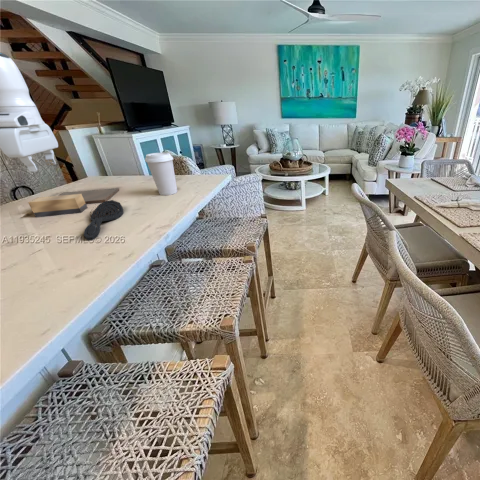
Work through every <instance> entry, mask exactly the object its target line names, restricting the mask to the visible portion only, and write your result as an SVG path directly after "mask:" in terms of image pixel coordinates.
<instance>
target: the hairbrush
mask: <svg viewBox="0 0 480 480" xmlns="http://www.w3.org/2000/svg"><path fill="white" fill-rule="evenodd" d="M94 204H95V206H96V207H95V206H93V207H92V209H90V210H91V211H90V212H91V213H89V218H90V221H91V222H90V223H89V224H88V225H87V226H86V227H85V228H84V232H83V236H84V239H85V240H87V241H93V240H95V239H96V238H97V237H98V236H99V235H100V232H101V225H102V223H103V222H108V221H113V220H117V219H119V218H121V217H122V216H123V215H124V207H123V205H122V204H121V202H119V201H117V200H114V199H109V200H108V201H104V202H103V203H99V204H98V205H97V203H94Z"/></svg>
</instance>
